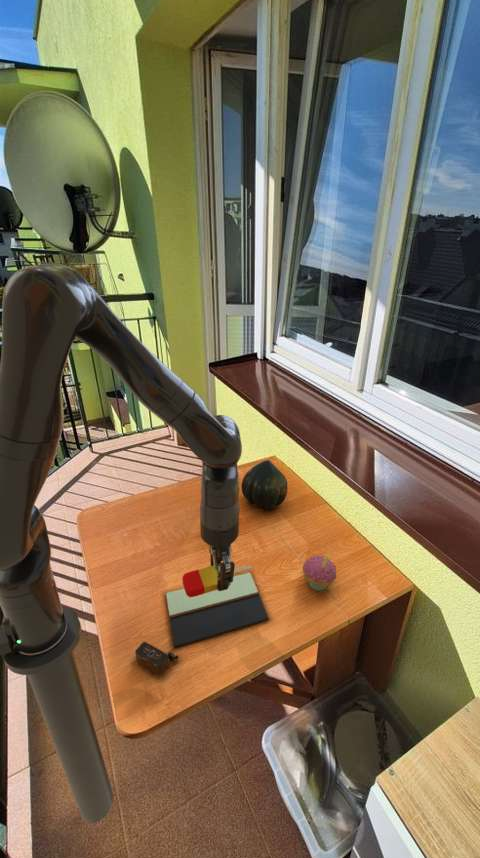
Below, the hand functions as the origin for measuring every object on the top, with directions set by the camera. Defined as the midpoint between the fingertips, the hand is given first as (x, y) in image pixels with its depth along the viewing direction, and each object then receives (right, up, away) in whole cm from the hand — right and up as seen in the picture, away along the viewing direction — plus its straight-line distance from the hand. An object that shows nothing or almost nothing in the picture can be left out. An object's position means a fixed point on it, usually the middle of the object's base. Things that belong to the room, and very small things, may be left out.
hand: (219, 577), depth 81 cm
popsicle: (0, -1, 0) cm, 1 cm away
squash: (+8, +9, +45) cm, 46 cm away
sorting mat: (-2, -10, +7) cm, 12 cm away
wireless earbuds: (-11, -15, -5) cm, 20 cm away
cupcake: (+23, -8, +16) cm, 29 cm away
